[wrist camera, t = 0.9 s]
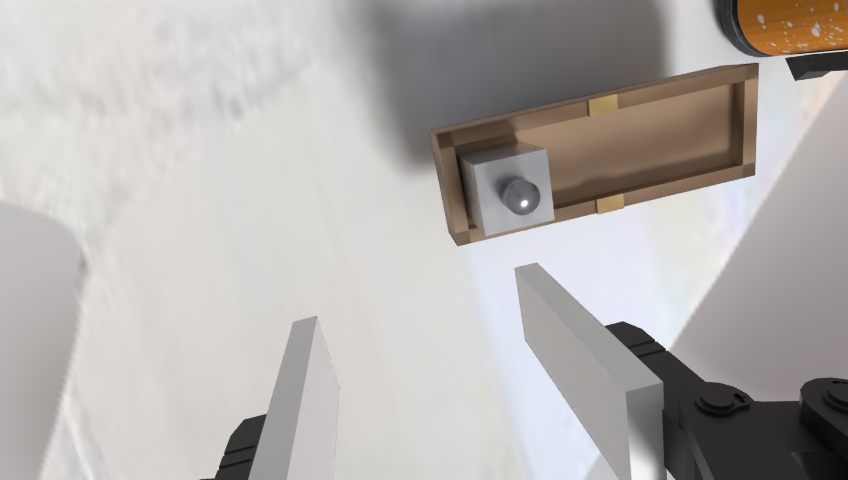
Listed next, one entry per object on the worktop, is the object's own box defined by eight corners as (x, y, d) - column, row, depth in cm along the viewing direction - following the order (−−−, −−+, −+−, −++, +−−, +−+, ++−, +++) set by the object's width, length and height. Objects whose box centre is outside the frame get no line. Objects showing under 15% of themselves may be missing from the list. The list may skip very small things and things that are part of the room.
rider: (456, 154, 32) (480, 169, 26) (519, 140, 32) (556, 151, 26) (467, 215, 33) (492, 243, 27) (527, 202, 34) (564, 226, 27)
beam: (421, 126, 37) (436, 133, 30) (686, 67, 39) (761, 61, 32) (440, 219, 40) (458, 247, 33) (687, 161, 42) (757, 176, 34)
